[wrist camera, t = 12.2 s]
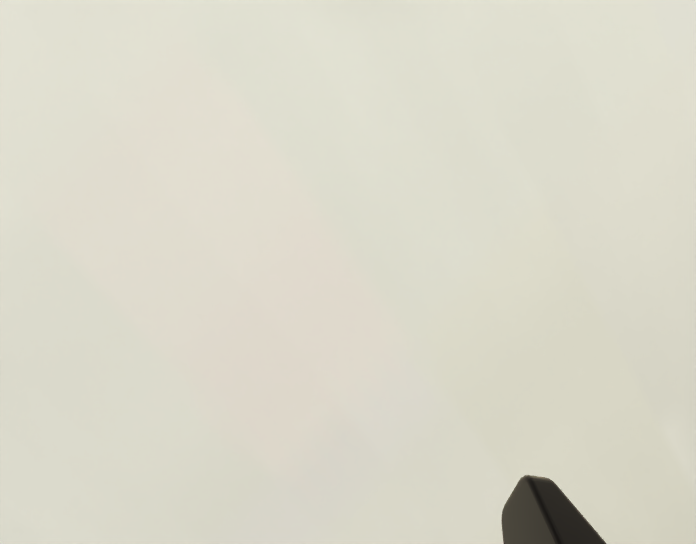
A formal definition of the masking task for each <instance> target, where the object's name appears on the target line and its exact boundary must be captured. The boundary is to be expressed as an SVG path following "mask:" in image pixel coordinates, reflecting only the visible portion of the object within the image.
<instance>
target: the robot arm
mask: <svg viewBox="0 0 696 544" xmlns="http://www.w3.org/2000/svg"><path fill="white" fill-rule="evenodd" d="M502 531H503V542H504V544H606V543H605V541H604V540H603V539H602V538H601V537H600V535H599V534H598V533H597V532H596V531H595V530H594V528H593V527H592V526H591V525H590V524H589V523H588V521H587V520H586V519H585V518H584V517H583V516H582V514H581V513H580V512H579V511H578V510H577V508H576V507H575V506H574V505H573V504H572V503H571V501H570V500H569V499H568V498H567V497H566V496H565V494H564V493H563V492H562V491H561V490H560V489H559V487H558V486H557V485H556V484H555V483H554V482H553V481H552V480H550V479H548V478H545V477H538V476H530V475H525V476H524V477H522V478H521V479H520V480H519V482H518V484H517V485H516V487H515V489H514V490H513V492H512V494H511V495H510V497H509V499H508V500H507V502H506V504H505V506H504V508H503V512H502Z"/></svg>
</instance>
